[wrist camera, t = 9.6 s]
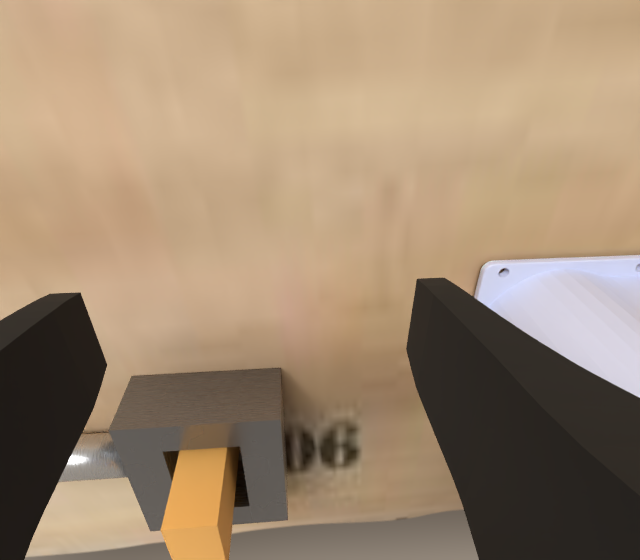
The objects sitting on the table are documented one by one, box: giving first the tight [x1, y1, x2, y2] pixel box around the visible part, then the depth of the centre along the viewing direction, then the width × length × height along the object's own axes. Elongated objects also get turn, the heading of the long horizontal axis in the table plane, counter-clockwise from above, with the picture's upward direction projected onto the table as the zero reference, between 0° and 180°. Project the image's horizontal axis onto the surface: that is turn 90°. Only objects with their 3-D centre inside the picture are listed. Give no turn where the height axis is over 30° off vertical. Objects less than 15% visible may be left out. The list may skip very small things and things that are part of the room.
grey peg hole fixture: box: [58, 368, 288, 531], centre depth 23 cm, size 16×9×4 cm, turn 90°
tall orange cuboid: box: [161, 446, 240, 560], centre depth 22 cm, size 2×4×7 cm, turn 0°
